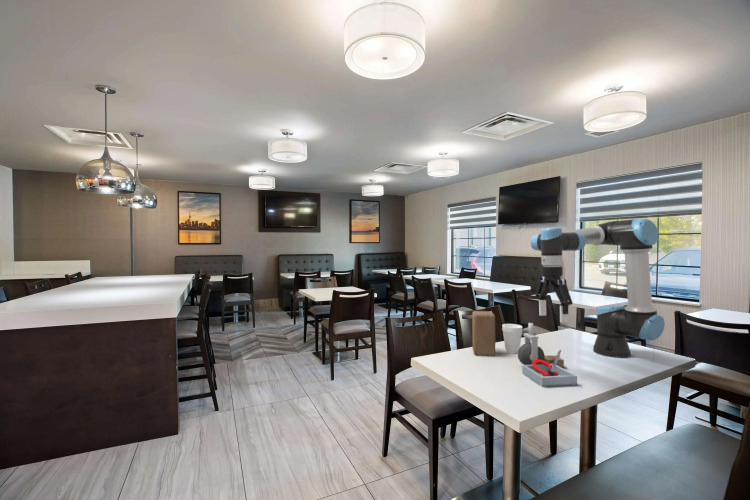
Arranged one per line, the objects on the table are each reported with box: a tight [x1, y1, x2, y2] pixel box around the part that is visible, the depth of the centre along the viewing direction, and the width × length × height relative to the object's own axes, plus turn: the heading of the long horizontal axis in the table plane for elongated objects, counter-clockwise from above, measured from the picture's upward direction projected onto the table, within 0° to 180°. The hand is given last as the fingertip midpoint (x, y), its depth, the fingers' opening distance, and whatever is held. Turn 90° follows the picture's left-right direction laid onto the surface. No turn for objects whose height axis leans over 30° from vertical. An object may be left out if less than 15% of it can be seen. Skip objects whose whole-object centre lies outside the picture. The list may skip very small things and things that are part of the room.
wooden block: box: [471, 310, 496, 357], centre depth 171 cm, size 10×10×20 cm
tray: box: [521, 364, 578, 388], centre depth 136 cm, size 14×14×4 cm
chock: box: [544, 355, 565, 369], centre depth 151 cm, size 7×6×4 cm
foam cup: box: [501, 323, 523, 355], centre depth 172 cm, size 10×9×13 cm
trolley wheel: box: [517, 322, 546, 365], centre depth 150 cm, size 10×6×19 cm, turn 96°
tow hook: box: [532, 349, 562, 377], centre depth 137 cm, size 8×13×9 cm
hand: (552, 318), depth 138 cm, fingers open, 13 cm apart
